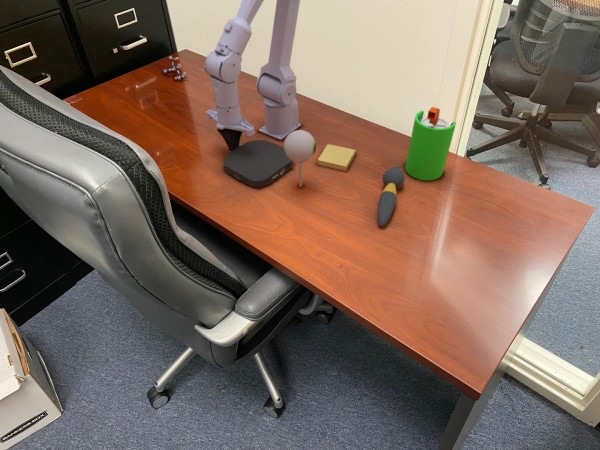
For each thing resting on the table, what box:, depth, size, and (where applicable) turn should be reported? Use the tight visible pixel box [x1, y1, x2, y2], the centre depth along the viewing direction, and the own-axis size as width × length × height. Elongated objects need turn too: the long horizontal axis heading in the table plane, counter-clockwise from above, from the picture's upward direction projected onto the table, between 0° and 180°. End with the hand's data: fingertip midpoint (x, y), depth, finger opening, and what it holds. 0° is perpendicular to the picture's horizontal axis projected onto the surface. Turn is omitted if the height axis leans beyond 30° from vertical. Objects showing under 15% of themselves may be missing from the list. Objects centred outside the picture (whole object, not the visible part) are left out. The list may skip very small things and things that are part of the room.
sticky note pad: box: [317, 143, 356, 172], centre depth 113 cm, size 8×8×2 cm
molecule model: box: [162, 55, 187, 81], centre depth 146 cm, size 6×12×8 cm, turn 41°
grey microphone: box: [377, 166, 405, 227], centre depth 100 cm, size 20×5×5 cm, turn 167°
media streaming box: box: [222, 139, 294, 188], centre depth 111 cm, size 15×15×3 cm
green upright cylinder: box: [405, 106, 457, 181], centre depth 103 cm, size 9×8×18 cm
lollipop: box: [283, 129, 317, 188], centre depth 101 cm, size 7×7×15 cm
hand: (234, 150), depth 115 cm, fingers closed
